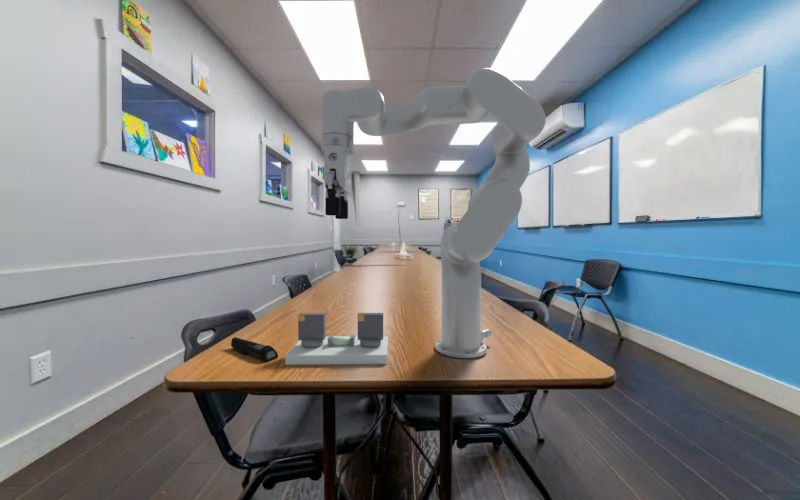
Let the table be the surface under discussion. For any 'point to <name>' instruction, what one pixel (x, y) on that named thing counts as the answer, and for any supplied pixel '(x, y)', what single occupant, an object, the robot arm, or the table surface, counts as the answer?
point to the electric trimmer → (254, 349)
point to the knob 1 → (311, 329)
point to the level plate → (338, 352)
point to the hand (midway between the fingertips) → (337, 217)
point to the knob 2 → (370, 329)
